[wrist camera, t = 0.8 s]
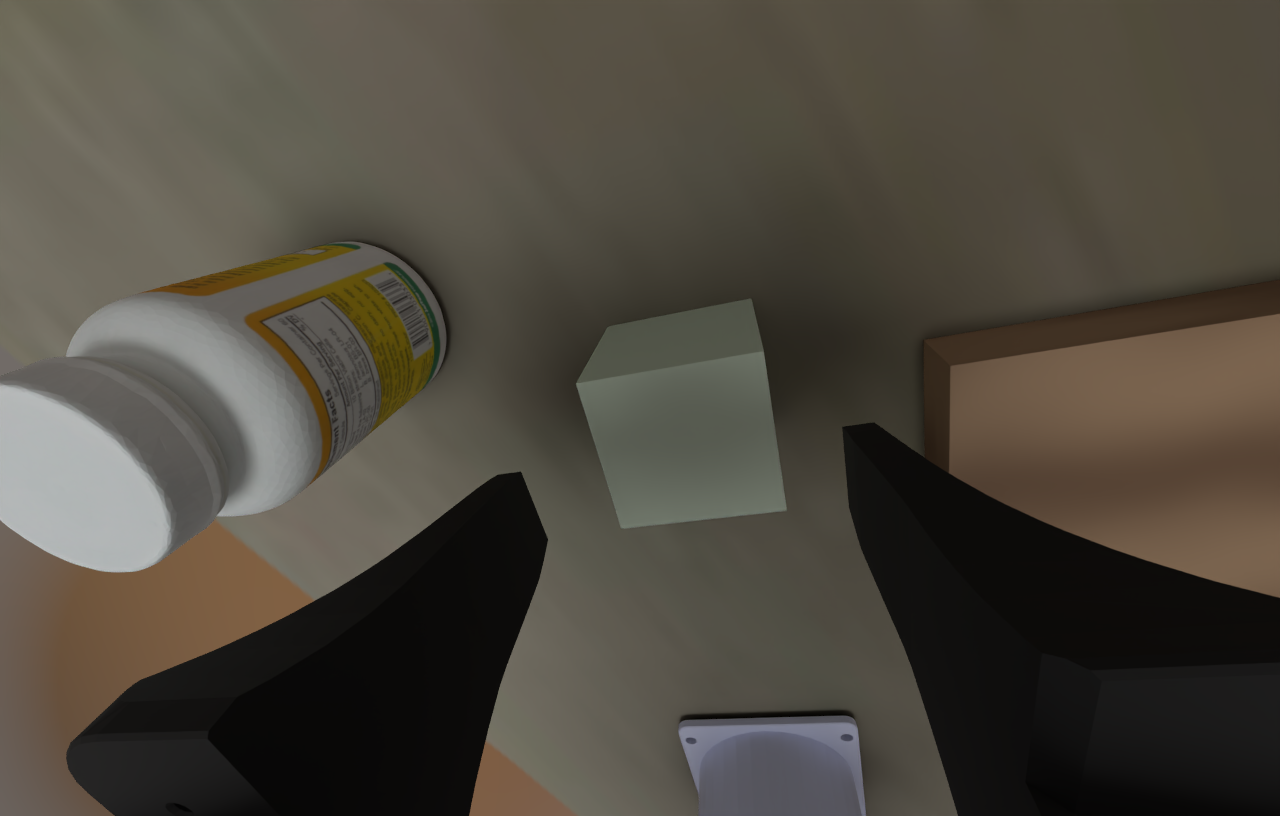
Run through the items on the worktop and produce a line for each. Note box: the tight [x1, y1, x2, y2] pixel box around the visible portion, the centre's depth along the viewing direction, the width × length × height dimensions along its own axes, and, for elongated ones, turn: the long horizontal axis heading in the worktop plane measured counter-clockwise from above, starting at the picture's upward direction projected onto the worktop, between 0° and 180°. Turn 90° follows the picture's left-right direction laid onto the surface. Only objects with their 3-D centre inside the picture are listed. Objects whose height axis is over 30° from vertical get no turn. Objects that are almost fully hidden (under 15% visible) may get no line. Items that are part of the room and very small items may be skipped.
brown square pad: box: [923, 280, 1280, 598], centre depth 16 cm, size 10×10×2 cm
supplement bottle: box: [0, 242, 446, 572], centre depth 13 cm, size 5×5×10 cm
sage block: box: [576, 298, 787, 529], centre depth 15 cm, size 4×4×4 cm
